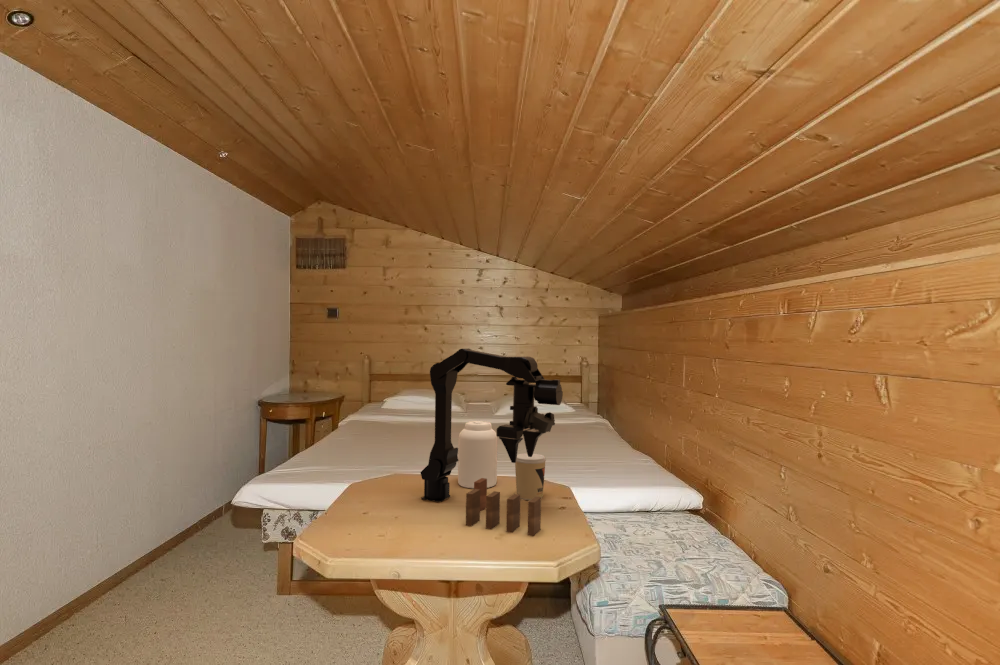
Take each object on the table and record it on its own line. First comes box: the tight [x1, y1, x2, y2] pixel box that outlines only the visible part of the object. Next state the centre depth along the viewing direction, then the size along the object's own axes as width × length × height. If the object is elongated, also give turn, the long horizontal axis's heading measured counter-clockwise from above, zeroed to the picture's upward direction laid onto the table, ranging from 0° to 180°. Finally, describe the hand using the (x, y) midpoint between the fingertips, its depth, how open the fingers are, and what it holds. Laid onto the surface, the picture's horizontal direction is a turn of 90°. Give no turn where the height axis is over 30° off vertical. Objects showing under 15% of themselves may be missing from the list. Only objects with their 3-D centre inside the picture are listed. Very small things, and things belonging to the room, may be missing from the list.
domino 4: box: [505, 493, 521, 534], centre depth 140 cm, size 2×5×8 cm, turn 158°
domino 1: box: [465, 489, 481, 527], centre depth 144 cm, size 2×5×8 cm, turn 157°
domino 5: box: [527, 497, 542, 537], centre depth 138 cm, size 2×5×8 cm, turn 157°
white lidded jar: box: [457, 420, 498, 490], centre depth 183 cm, size 12×12×20 cm
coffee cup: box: [514, 452, 547, 501], centre depth 169 cm, size 9×9×12 cm
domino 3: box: [485, 490, 501, 530], centre depth 142 cm, size 2×5×8 cm, turn 157°
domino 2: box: [474, 478, 488, 513], centre depth 156 cm, size 2×5×8 cm, turn 157°
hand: (522, 459), depth 155 cm, fingers open, 9 cm apart
